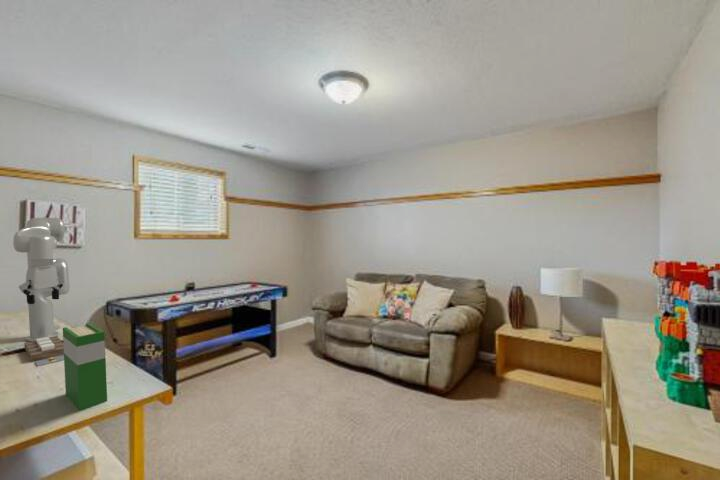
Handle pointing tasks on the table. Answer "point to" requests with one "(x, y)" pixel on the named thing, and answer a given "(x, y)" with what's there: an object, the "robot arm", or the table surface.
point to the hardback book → (85, 365)
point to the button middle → (44, 343)
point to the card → (49, 360)
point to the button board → (37, 354)
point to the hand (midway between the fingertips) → (43, 301)
